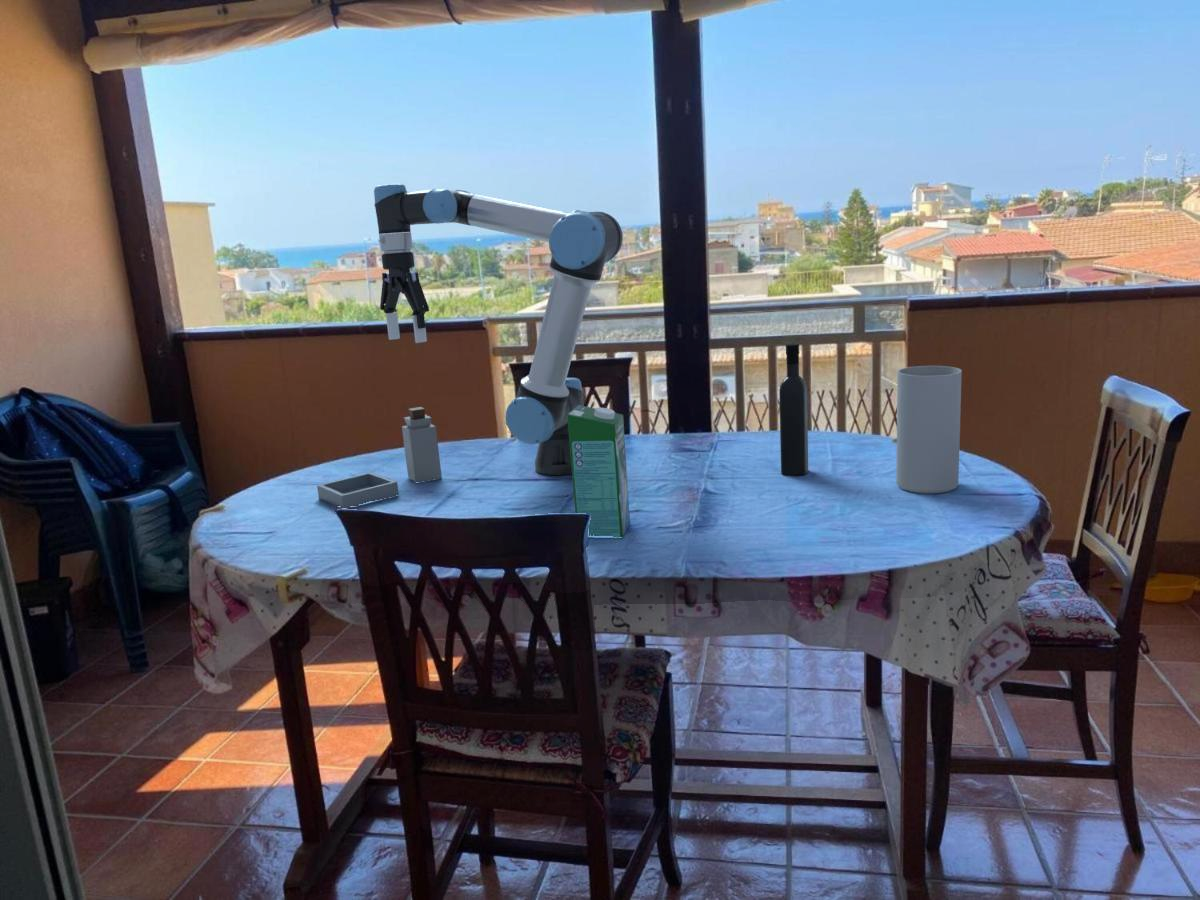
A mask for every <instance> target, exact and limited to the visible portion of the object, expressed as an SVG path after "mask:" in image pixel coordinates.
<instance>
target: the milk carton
mask: <svg viewBox="0 0 1200 900" xmlns="http://www.w3.org/2000/svg"><path fill="white" fill-rule="evenodd" d="M567 416H568V428H569V441H570V453H571V465H572V474H571V475H572V488H573V489H572V490H573V500H574V511H575V513H586V514H590V515H591V520H590V524H589V536H590V535H591V536H593V535H594V536H613V537H623V538H624V536H625V534H626V532H627V530H628V527H629V525H630V524H631V521H630V520H631V518H630V517H631V516H630V505H629V504H630V501H629V487H628V485H629V484H628V470H627V457H626V454H627V453H626V443H625V442H626V441H625V426H624V424H625V423H624V414H621V413H616V412H615V411H614V409H611V408H607V407H594V408H593V407H589V406H585V405H583V406H581V405H578V406H577V407H575V408H574V409H573V410H572V411H571V412H570V413H569V414H568V415H567ZM625 531H626V532H625ZM624 533H625V534H624ZM623 535H624V536H623Z"/></svg>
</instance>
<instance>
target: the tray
mask: <svg viewBox="0 0 1200 900" xmlns="http://www.w3.org/2000/svg"><path fill="white" fill-rule="evenodd" d="M316 488H317V495H318V500H320V501H322V502H324V501H325V502H324V503H326V502H327V503H326V504H328V503H329V505H330V506H333V507H335V506H336V507H335V508H337V509H339V508H338V507H337V506H341V507H340V508H352V509H354V508H353V507H350V506H358V505H359V504H363V503H366V502H369V501H375V500H380V499H384V498H389V497H393V496H396V495H399V496H400V492H399V484H398V481H397V480H396V481H395V480H393V479H390V478H387V477H384V476H383V475H379V474H376V473H374V472H365V473H363V474H358V475H353V476H349V477H346V478H341V479H337V480H333V481H329V482H325V483H320V484H317V485H316ZM393 498H394V497H393ZM389 499H390V498H389Z"/></svg>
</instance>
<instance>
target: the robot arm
mask: <svg viewBox="0 0 1200 900" xmlns="http://www.w3.org/2000/svg"><path fill="white" fill-rule="evenodd" d="M373 194H374V195H373V196H374V204H373V205H374V209H375V214H376V222H377V226H378V237H379V238H378V243H379V246H380V251H381V252H383V253H382V254H381V256H380V257H381V264H382V265H381V266H382V269H383V270H387V271H388V272H382V273H381V276H382V277H381V279H382V280H381V281H382V283H381V292H380V293H381V295H380V302H379V303H380V304H379V308H380V311H383V312H384V314H385V318H386V326H387V335H388V340H390V341H391V340H399V339H401V335H400V326H399V325H400V324H399V318H398V310H397V304H398V302H399V301H398V300H399V297H400V293H402V294H403V295H404V297H405V298H406V301H407V303H408V304H409V306H410V308H411V310H412V313H411V316H412V317H411V318H412V323H413V331H414V332H413V334H414V341H415V342H414V343H415V344H419V343H425V342H427V341H428V338H427V328H426V321H425V320H426V319H425V314H426V313H427V312H429V311H430V306H429V304H428V301H427V299H426V297H425V292H424V291H423V287H422V285H421V282H420V277H419V276H420V275H419V273H418V271H412V272H411V269H413V268H414V267H415V258H414V253H413V251H412V250H413V239H412V231H411V230H412V229H411V226H413V225H430V224H438V225H440V224H445V223H446V224H449V223H455V224H461V225H466V226H472V227H477V228H480V229H481V228H482V229H485V230H491V231H495V232H499V233H504V234H509V235H514V236H516V237H517V236H519V237H523V238H527V239H531V240H537V241H541V242H545V243H548V247H549V248H548V249H549V251H550V253H551V258H550V259H551V260H550V262H549V263H550V264H549V268H550V270H551V273H553V279H552V283H551V287H550V291H549V294H548V299H547V303H546V307H545V311H544V315H543V318H542V323H541V325H540V326H541V327H540V330H539V335H538V338H537V342H536V346H535V351H534V353H533V357H532V362H531V365H530V370H529V374H527V375H526V376H524V377H522V378H521V379H520V383H519V386H518V390H517V394H516V398H514V399H512V400H511V402H510V403H509V404H508V405H507V408H506V410H505V422H506V427H507V429H509V431H510V433H511V434H512V436H513V437H514V438H515V439H517V440H518V441H520V442H521V443H524V444H529V445H537V444H538V445H537V451H536V456H535V459H534V470H535V472H537V473H539V474H542V475H546V476H565V475H572V465H571V453H570V441H569V428H568V416H567V415H568V414H569V413H570V412H571V411H572V410H573V409H574V408H575V407H577V406H578V405H581V406H584V395H583V394H584V390H583V387H582V382H581V380H580V379H579V378H578V377H568V374H569V370H570V366H571V361H572V360H573V359H572V358H573V355H574V352H575V347H576V344H577V341H578V336H579V333H580V328H581V325H582V322H583V318H584V315H585V311H586V306H587V303H588V299H589V295H590V292H591V289H592V286H594V285H595V284H597V283H598V282H600V281H601V278H602V274H603V270H604V268H605V264H606V263H608V262H609V261H612V260H613V259H615V257H616V256H617V255H618V254H619V252H620V250H621V248H622V245H623V241H624V240H623V239H624V235H623V230H622V227H621V225H620V223H619V222H618V221H617V219H616V218H614V217H613V216H612V215H610V214H608V213H606V212H604V211H584V210H578V209H575V210H573V211H572V212H566V211H560V210H555V209H551V208H545V207H541V206H536V205H530V204H525V203H519V202H515V201H511V200H505V199H500V198H496V197H492V196H491V197H490V196H485V195H481V194H474V193H471V192H469V191H466V190H461V189H456V190H450V189H447V188H432V189H425V190H417V191H407V188H406V185H405V184H404V183H388V184H381V185H380V184H378V185H377V186H375V187H374V190H373Z"/></svg>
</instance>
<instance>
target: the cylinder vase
mask: <svg viewBox="0 0 1200 900" xmlns="http://www.w3.org/2000/svg"><path fill="white" fill-rule="evenodd" d="M962 372H963V371H962V369H961V368H958V367H954V366H946V365H919V366H907V367H904V368H903V367H902V368H901V369H898V370H897V383H896V384H897V389H896V390H897V393H896V394H897V395H896V396H897V397H896V402H897V403H896V408H897V409H896V478H895V480H896V485H897V486H898V487H899V489H902V490H904V491H906V492H910V493H917V494H924V495H925V494H927V495H929V494H930V495H933V494H935V495H936V494H944V493H949V492H952V491H954V490H955V489H957V487H959V482H960V481H959V480H960V479H959V475H960V471H959V470H960V447H961V446H960V437H961V409H962V408H961V405H962V404H961V403H962V377H963V376H962Z"/></svg>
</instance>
